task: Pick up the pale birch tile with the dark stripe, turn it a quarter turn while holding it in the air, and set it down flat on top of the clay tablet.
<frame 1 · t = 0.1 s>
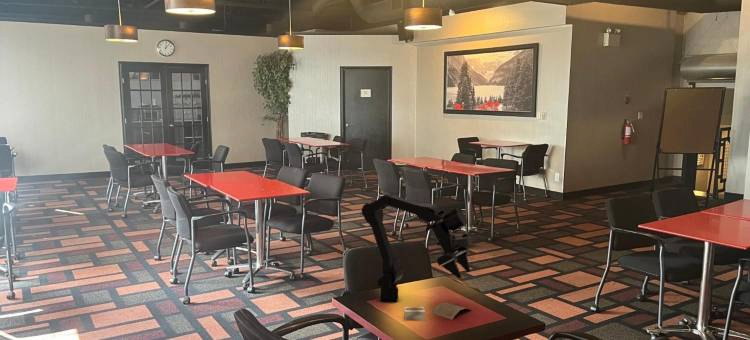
hand: (464, 274, 212), 15 cm above the table, tool tilted 30°, fingers open, 9 cm apart
clay tablet: (451, 313, 216), on the table
birch tile: (414, 318, 210), on the table
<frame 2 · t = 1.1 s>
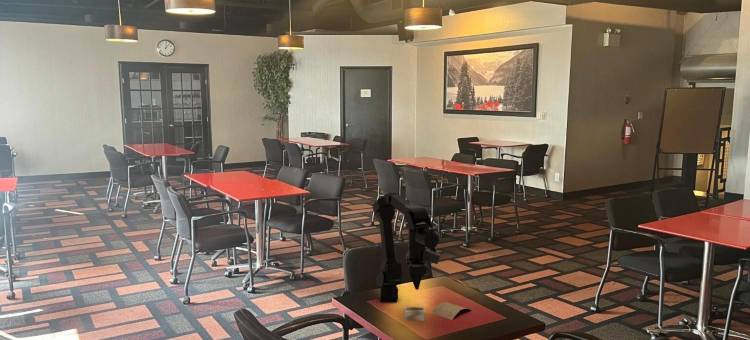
hand: (416, 285, 208), 12 cm above the table, tool pointing down, fingers open, 9 cm apart
nothing on the table moved.
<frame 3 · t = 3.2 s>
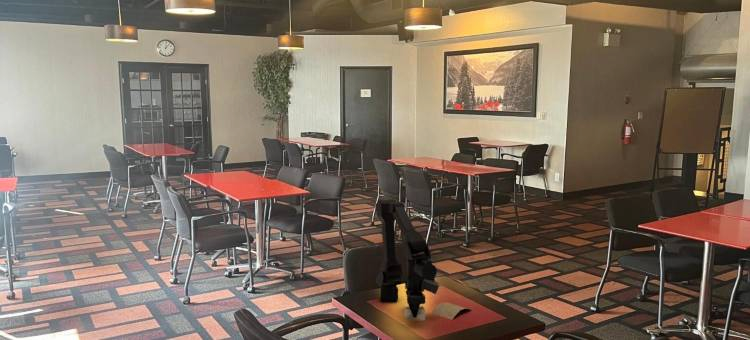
hand: (414, 314, 210), 1 cm above the table, tool pointing down, fingers closed on birch tile, 5 cm apart
birch tile: (414, 317, 210), on the table, touching gripper
everything else where it was.
when the fingers open (6 cm above the table, at t = 8.0 s): birch tile drops 3 cm, resting on clay tablet.
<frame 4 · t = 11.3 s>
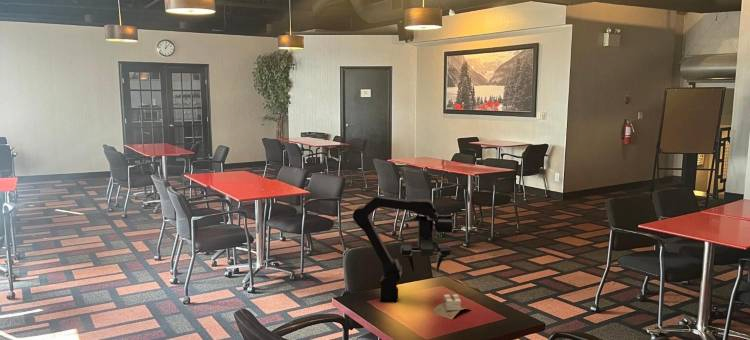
hand: (425, 271, 225), 12 cm above the table, tool pointing down, fingers open, 9 cm apart
clay tablet: (451, 314, 216), on the table, touching birch tile
birch tile: (452, 306, 216), point 2 cm above the table, touching clay tablet
at the end: birch tile inside the target area on the clay tablet (0.4 cm from its centre), point 2.9 cm above the clay tablet's base; birch tile tilted 0°; the gripper is holding nothing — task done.
